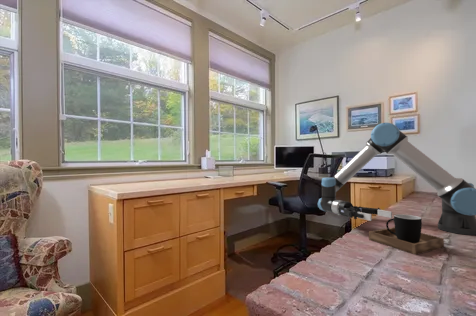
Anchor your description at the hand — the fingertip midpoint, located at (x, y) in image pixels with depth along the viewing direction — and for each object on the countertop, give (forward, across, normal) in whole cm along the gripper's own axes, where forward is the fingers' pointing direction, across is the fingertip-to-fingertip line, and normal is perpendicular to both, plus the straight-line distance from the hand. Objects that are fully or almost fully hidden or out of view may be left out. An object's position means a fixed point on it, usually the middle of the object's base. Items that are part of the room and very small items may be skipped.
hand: (381, 216), depth 103 cm
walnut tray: (+9, 0, -9) cm, 13 cm away
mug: (+9, +1, -8) cm, 13 cm away
